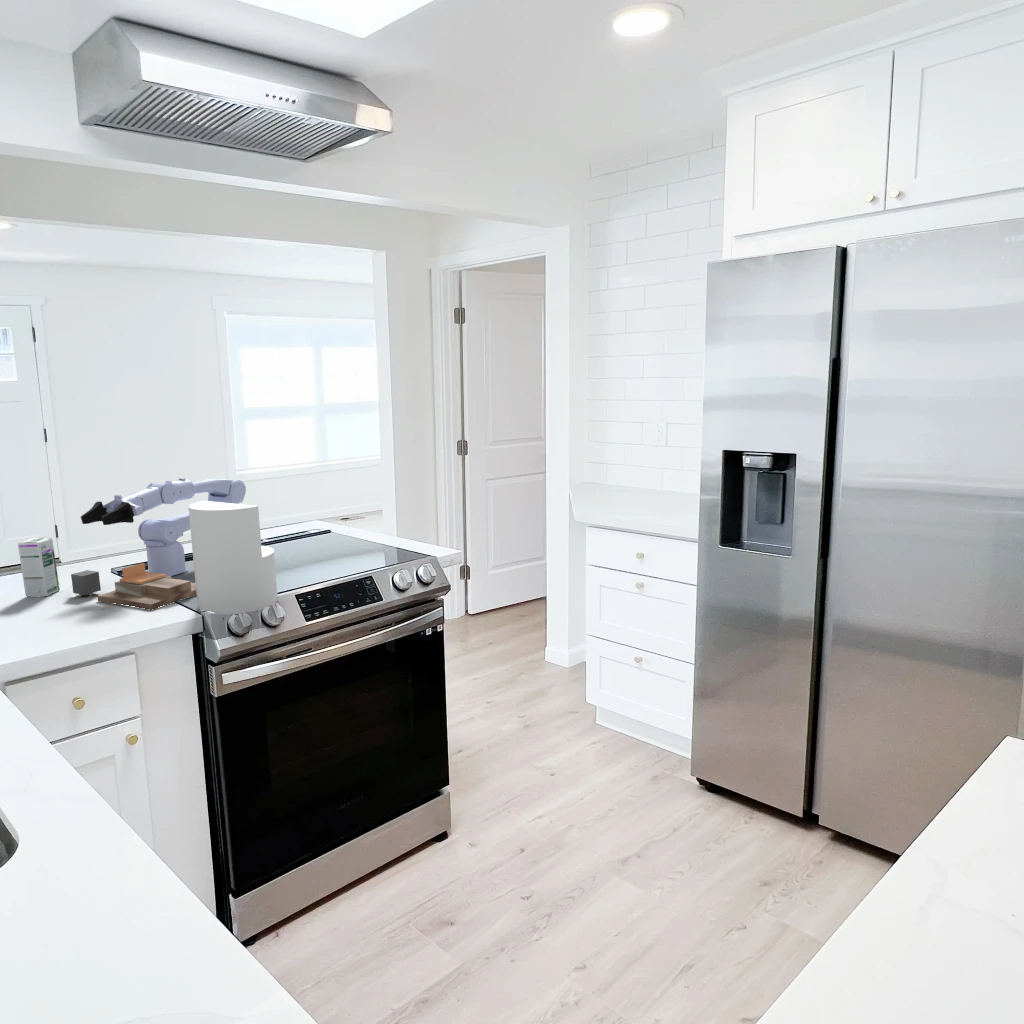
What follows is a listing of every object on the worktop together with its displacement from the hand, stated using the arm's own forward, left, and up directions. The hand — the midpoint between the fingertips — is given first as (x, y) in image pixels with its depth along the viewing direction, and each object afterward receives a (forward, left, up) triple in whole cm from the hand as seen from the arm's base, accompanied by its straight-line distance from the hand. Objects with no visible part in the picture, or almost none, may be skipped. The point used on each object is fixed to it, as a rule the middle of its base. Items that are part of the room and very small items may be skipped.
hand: (92, 520), depth 199 cm
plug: (+2, -4, -19) cm, 20 cm away
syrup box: (+6, -15, -20) cm, 25 cm away
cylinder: (-8, +39, -20) cm, 45 cm away
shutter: (-4, +11, -15) cm, 19 cm away
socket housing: (-4, +15, -19) cm, 25 cm away
